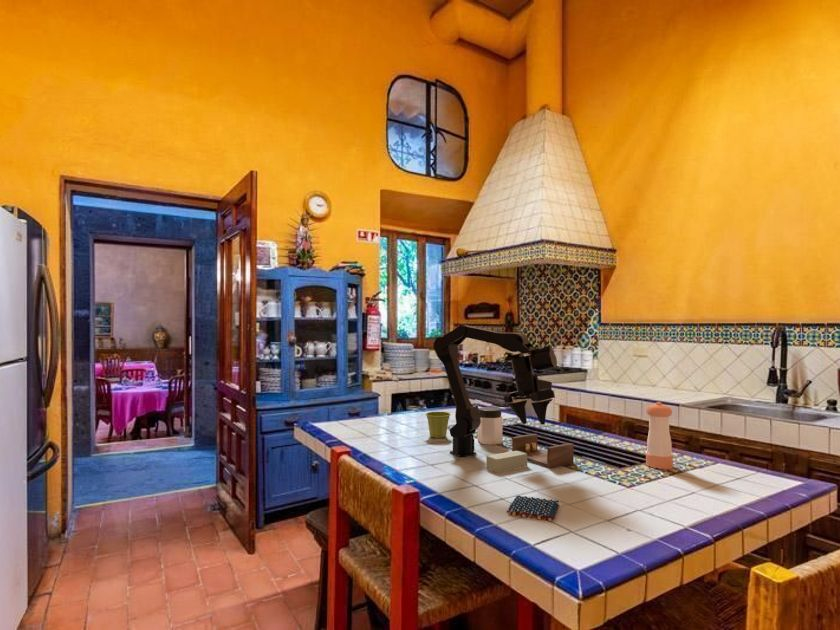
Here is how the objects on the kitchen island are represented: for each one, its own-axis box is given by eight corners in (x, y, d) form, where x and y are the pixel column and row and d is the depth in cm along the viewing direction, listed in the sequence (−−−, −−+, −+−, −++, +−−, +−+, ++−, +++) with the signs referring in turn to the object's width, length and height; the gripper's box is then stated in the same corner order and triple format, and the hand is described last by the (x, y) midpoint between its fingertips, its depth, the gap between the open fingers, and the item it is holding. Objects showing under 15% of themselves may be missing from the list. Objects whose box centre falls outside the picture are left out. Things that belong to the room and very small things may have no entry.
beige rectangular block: (496, 473, 144) (496, 459, 144) (486, 469, 148) (486, 455, 148) (527, 467, 151) (527, 453, 151) (516, 463, 154) (516, 450, 154)
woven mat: (514, 502, 122) (514, 493, 122) (559, 508, 118) (559, 499, 118) (505, 517, 112) (505, 508, 112) (553, 524, 108) (553, 515, 108)
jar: (505, 444, 177) (505, 410, 177) (483, 445, 175) (483, 411, 176) (496, 438, 186) (496, 406, 186) (475, 439, 184) (475, 407, 184)
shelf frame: (573, 463, 153) (573, 443, 153) (550, 468, 148) (550, 448, 148) (534, 451, 167) (534, 433, 167) (512, 455, 162) (512, 437, 162)
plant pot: (451, 439, 185) (451, 416, 185) (425, 439, 185) (425, 415, 185) (450, 434, 194) (450, 411, 194) (425, 433, 194) (425, 411, 194)
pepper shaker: (676, 465, 151) (675, 402, 151) (668, 471, 146) (667, 404, 146) (650, 461, 156) (650, 399, 156) (642, 466, 151) (642, 402, 151)
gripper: (563, 366, 149) (574, 419, 147) (527, 371, 166) (536, 418, 164) (533, 372, 145) (544, 426, 143) (498, 377, 161) (508, 425, 160)
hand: (533, 424), depth 152 cm, fingers open, 9 cm apart
